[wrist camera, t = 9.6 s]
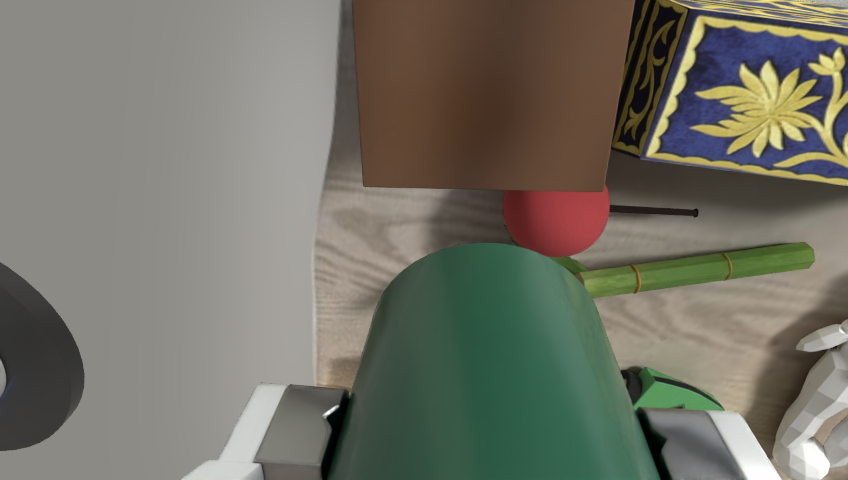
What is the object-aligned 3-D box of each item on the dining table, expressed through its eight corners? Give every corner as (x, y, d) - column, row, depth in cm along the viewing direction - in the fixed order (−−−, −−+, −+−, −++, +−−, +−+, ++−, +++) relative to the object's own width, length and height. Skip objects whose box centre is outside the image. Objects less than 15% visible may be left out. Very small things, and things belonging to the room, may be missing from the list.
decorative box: (945, 180, 40) (1066, 232, 32) (554, 130, 40) (577, 169, 32) (1037, 30, 35) (1208, 46, 27) (590, -26, 35) (628, -26, 27)
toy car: (727, 389, 50) (752, 429, 46) (614, 503, 59) (626, 546, 55) (635, 350, 49) (652, 388, 45) (534, 472, 58) (540, 514, 53)
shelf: (413, 81, 39) (363, 187, 20) (411, -73, 35) (343, -132, 15) (534, 82, 39) (603, 192, 19) (547, -74, 34) (658, -138, 15)
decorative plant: (804, 304, 43) (446, 357, 40) (740, 246, 49) (430, 288, 47) (834, 245, 39) (444, 298, 37) (762, 190, 46) (427, 232, 43)
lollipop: (720, 272, 37) (512, 266, 36) (664, 249, 44) (490, 244, 43) (738, 163, 35) (522, 153, 34) (676, 158, 43) (497, 150, 42)
